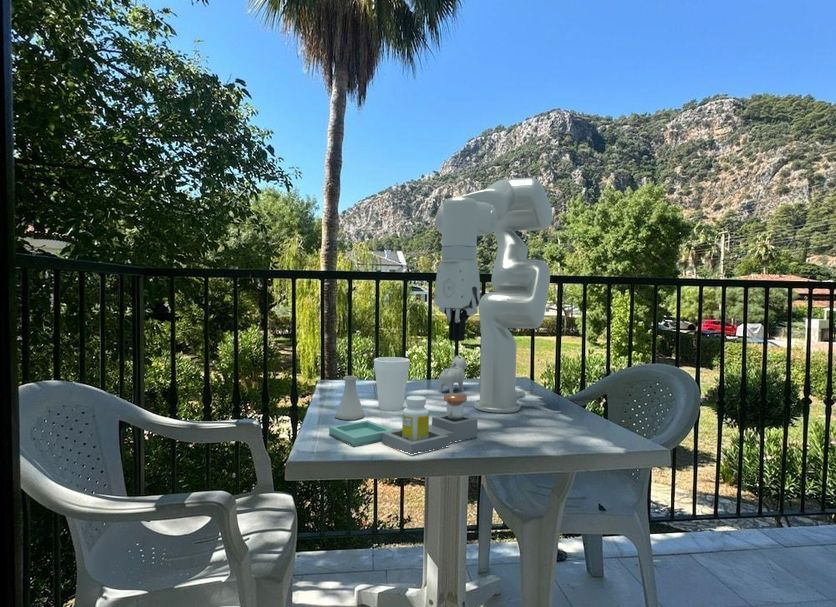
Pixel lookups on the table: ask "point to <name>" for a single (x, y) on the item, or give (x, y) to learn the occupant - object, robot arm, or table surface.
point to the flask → (350, 401)
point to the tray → (358, 432)
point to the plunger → (455, 406)
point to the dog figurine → (453, 374)
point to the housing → (434, 435)
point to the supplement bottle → (415, 419)
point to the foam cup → (391, 381)
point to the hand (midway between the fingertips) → (456, 340)
